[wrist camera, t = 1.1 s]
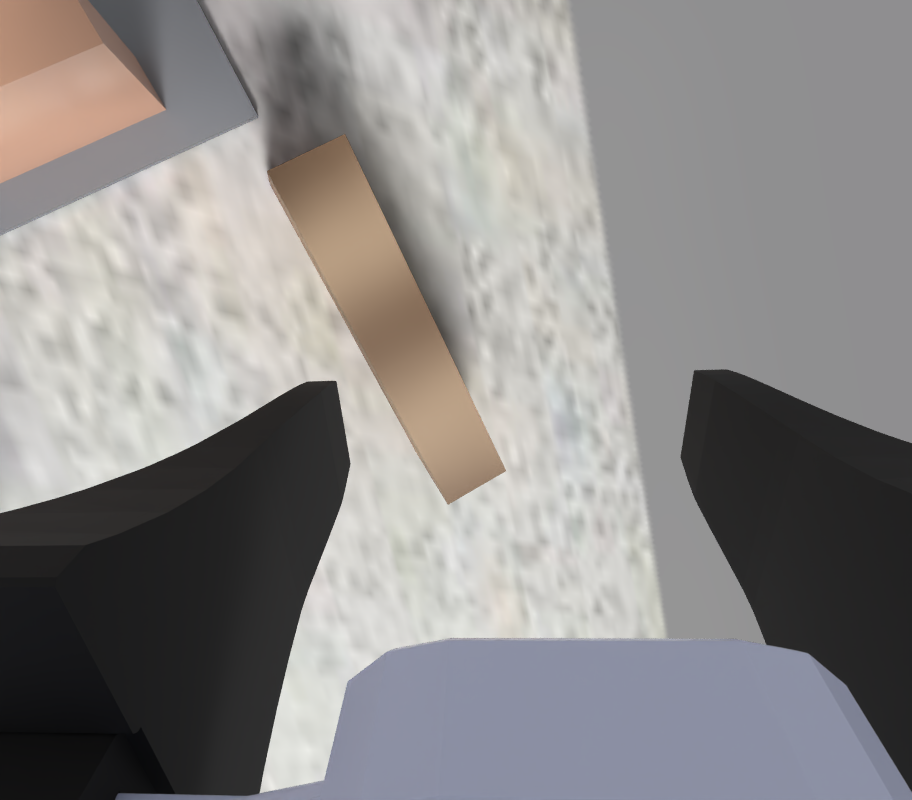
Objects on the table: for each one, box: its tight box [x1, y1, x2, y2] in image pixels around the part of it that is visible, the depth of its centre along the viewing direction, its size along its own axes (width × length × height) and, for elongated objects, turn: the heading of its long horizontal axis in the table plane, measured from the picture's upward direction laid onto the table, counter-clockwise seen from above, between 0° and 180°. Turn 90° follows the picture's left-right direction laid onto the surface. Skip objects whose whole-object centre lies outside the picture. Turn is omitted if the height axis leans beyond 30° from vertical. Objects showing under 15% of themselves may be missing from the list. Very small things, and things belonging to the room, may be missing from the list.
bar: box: [267, 134, 506, 504], centre depth 20 cm, size 12×2×5 cm, turn 25°
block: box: [0, 0, 166, 183], centre depth 14 cm, size 6×2×7 cm, turn 115°
